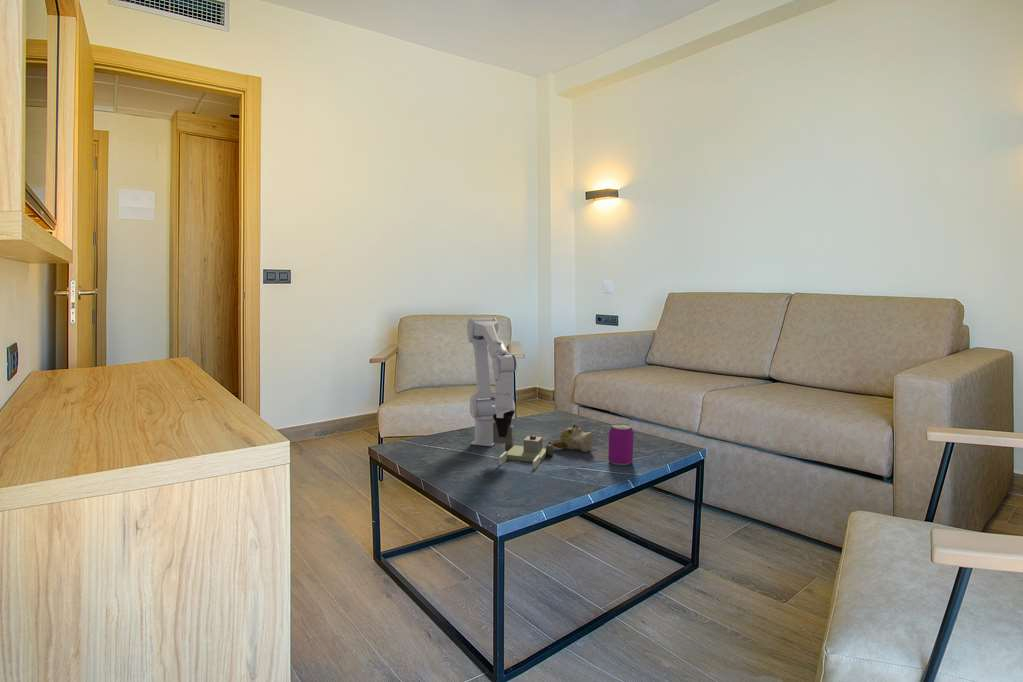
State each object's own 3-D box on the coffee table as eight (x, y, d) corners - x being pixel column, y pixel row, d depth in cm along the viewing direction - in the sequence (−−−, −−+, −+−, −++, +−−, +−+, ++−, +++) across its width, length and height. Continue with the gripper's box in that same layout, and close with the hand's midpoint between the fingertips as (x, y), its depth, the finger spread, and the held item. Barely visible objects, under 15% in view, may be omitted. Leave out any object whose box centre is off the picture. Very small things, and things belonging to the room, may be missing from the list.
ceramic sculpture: (586, 430, 186) (546, 426, 194) (587, 456, 187) (547, 451, 195) (599, 423, 195) (560, 419, 203) (600, 448, 196) (561, 443, 204)
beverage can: (637, 463, 181) (639, 427, 179) (618, 467, 177) (620, 430, 175) (621, 456, 187) (622, 421, 186) (603, 460, 183) (604, 424, 182)
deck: (508, 448, 194) (508, 431, 194) (553, 453, 190) (554, 435, 189) (492, 464, 179) (492, 444, 179) (541, 469, 175) (541, 450, 174)
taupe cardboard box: (495, 439, 184) (495, 419, 183) (514, 440, 183) (514, 420, 182) (493, 442, 180) (493, 422, 179) (511, 443, 179) (511, 423, 178)
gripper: (496, 387, 187) (496, 427, 189) (486, 397, 173) (486, 440, 175) (517, 388, 186) (517, 428, 187) (509, 398, 172) (509, 441, 173)
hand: (504, 434), depth 181 cm, fingers closed on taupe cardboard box, 4 cm apart
